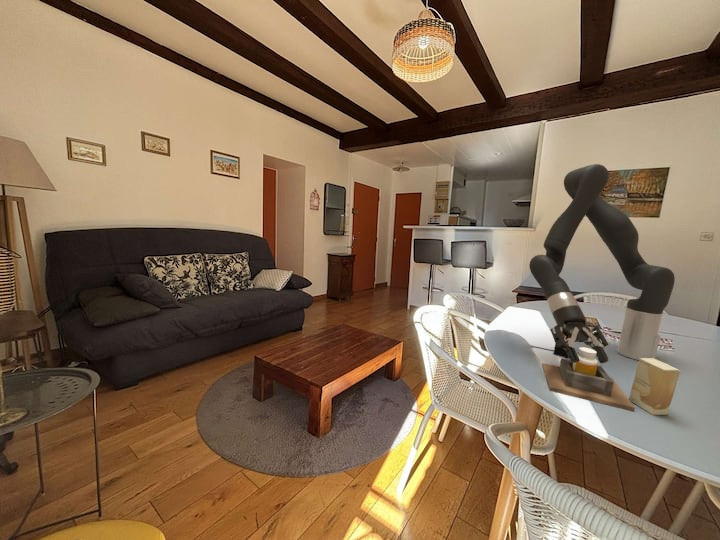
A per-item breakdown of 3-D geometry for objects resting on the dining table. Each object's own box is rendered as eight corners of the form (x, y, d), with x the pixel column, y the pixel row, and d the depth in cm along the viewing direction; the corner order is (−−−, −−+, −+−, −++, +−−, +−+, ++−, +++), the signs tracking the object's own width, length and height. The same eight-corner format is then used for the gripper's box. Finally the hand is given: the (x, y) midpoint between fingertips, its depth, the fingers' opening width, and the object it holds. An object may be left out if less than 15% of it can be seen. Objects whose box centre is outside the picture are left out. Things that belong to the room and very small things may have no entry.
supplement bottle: (597, 388, 80) (604, 355, 79) (576, 385, 81) (582, 352, 79) (586, 378, 85) (592, 347, 84) (566, 375, 86) (572, 344, 85)
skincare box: (627, 400, 77) (637, 357, 75) (642, 399, 77) (652, 357, 75) (653, 416, 71) (665, 369, 69) (669, 415, 71) (681, 369, 69)
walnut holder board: (612, 381, 86) (615, 365, 86) (634, 411, 72) (638, 393, 71) (541, 365, 94) (544, 351, 93) (549, 390, 80) (552, 373, 79)
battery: (571, 353, 105) (576, 327, 103) (567, 358, 100) (572, 331, 99) (557, 349, 108) (561, 323, 106) (553, 354, 103) (557, 327, 102)
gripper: (551, 303, 86) (576, 357, 77) (595, 304, 88) (625, 357, 78) (536, 315, 93) (557, 366, 83) (578, 315, 94) (603, 366, 84)
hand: (590, 362), depth 81 cm, fingers open, 8 cm apart
